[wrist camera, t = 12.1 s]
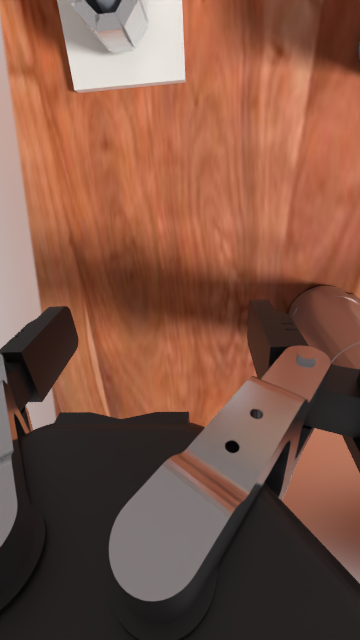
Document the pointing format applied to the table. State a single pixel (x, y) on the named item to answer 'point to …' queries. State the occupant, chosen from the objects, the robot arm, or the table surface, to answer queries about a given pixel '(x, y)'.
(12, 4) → the table surface
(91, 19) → the ring
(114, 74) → the shaft block
